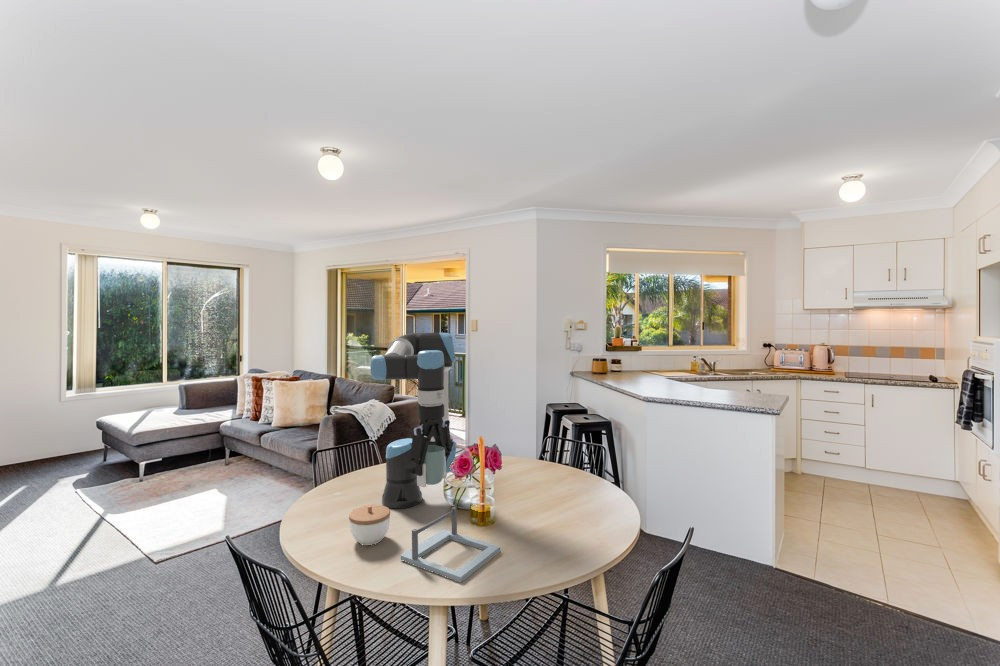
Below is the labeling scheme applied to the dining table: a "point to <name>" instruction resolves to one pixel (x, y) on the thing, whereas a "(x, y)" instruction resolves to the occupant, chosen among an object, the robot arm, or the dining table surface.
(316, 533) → the dining table surface
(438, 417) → the robot arm
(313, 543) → the dining table surface
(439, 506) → the dining table surface
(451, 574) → the towel rail frame
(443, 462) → the cup
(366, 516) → the lidded bowl
